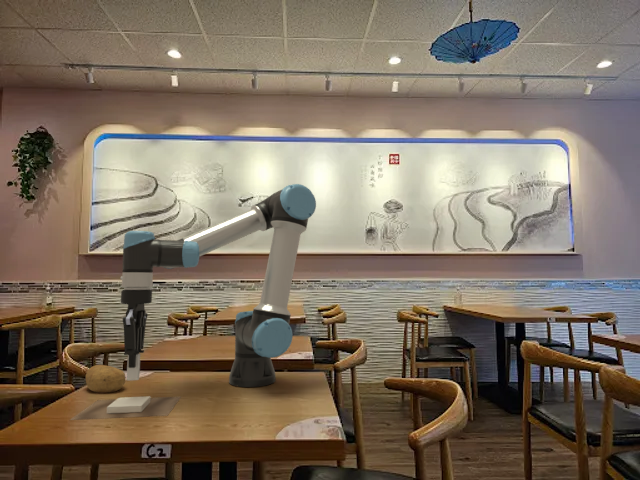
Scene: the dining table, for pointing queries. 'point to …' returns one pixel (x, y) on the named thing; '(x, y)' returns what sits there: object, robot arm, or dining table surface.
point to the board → (154, 408)
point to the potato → (105, 379)
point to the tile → (128, 404)
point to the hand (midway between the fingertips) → (133, 379)
